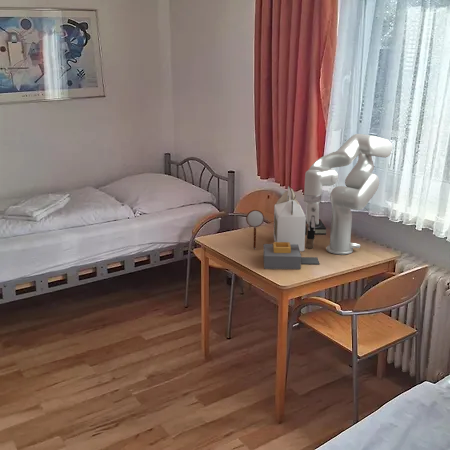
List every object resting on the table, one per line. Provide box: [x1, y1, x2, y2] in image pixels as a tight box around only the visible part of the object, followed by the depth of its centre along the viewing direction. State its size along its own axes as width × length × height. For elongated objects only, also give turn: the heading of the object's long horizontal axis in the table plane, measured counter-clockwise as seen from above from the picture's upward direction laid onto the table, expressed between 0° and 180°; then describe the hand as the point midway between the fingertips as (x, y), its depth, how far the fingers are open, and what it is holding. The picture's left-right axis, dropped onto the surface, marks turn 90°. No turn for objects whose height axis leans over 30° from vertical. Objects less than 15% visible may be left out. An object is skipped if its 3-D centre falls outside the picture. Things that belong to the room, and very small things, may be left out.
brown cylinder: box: [305, 223, 315, 250], centre depth 246 cm, size 4×4×15 cm
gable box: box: [273, 185, 306, 252], centre depth 269 cm, size 22×13×28 cm, turn 179°
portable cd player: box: [305, 218, 327, 236], centre depth 295 cm, size 16×17×4 cm
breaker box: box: [262, 241, 302, 270], centre depth 248 cm, size 16×16×8 cm
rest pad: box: [301, 256, 321, 266], centre depth 250 cm, size 8×8×1 cm
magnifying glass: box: [245, 209, 265, 250], centre depth 263 cm, size 9×2×20 cm, turn 97°
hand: (310, 237), depth 247 cm, fingers closed on brown cylinder, 3 cm apart
